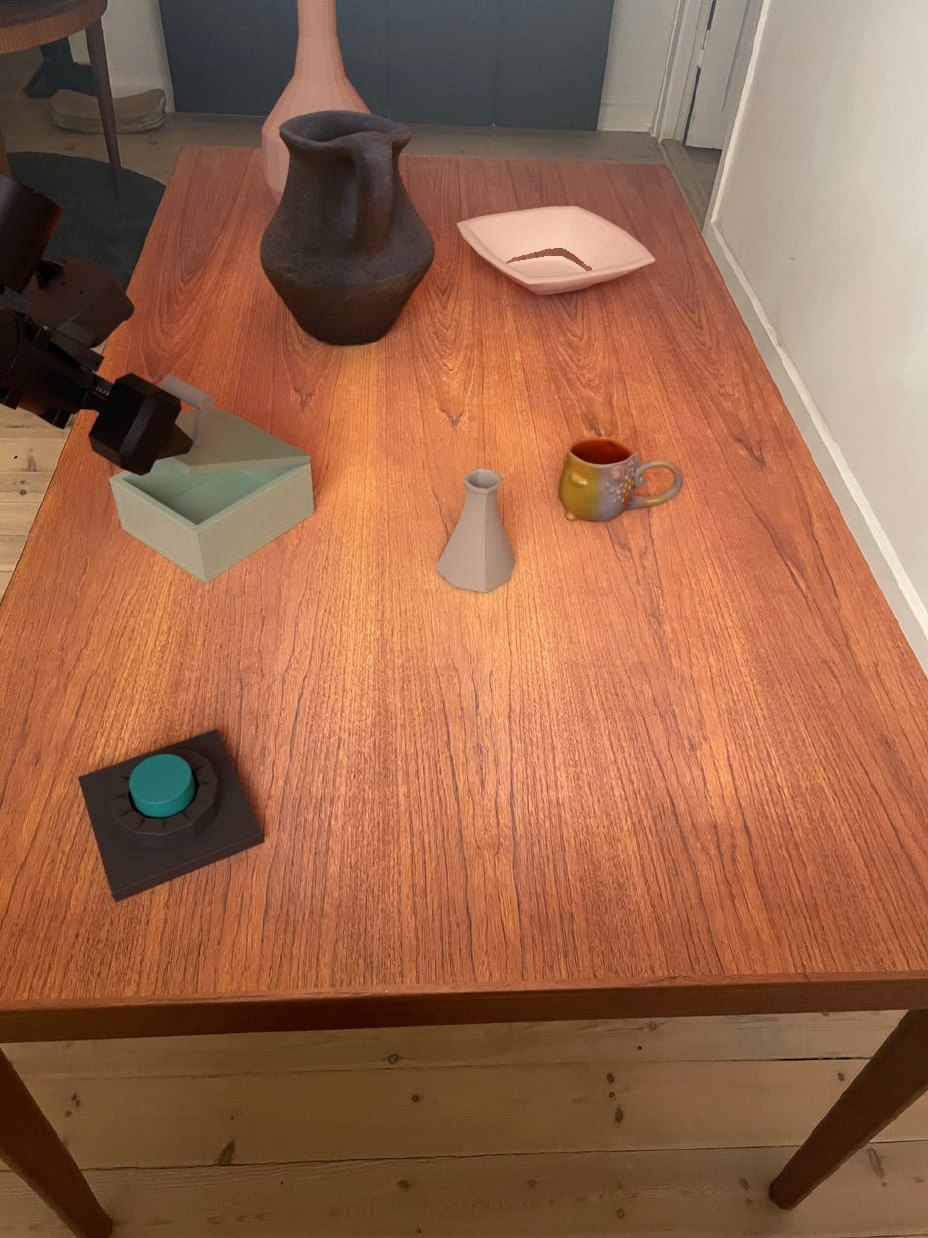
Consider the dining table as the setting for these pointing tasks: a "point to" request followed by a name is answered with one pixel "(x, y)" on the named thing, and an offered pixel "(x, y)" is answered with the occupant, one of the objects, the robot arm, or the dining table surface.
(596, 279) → the bowl
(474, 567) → the flask
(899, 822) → the dining table surface
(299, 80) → the vase
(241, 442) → the lid
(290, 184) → the pitcher
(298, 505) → the gray-green storage box
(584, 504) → the mug
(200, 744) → the panel
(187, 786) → the button
